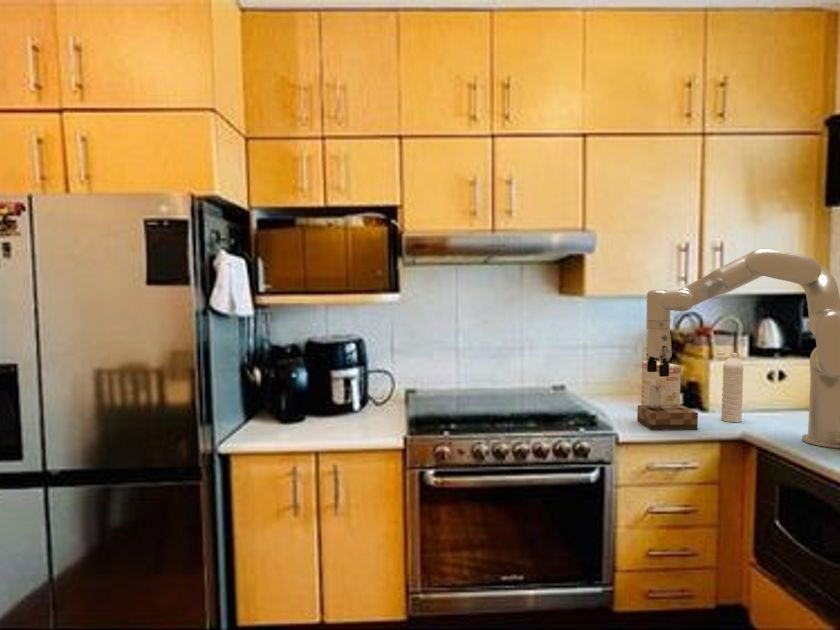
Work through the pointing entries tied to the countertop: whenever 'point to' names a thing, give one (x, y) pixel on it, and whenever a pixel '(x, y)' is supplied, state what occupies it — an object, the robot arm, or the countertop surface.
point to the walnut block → (668, 418)
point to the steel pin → (655, 398)
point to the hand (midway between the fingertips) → (657, 374)
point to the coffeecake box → (661, 384)
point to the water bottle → (732, 389)
